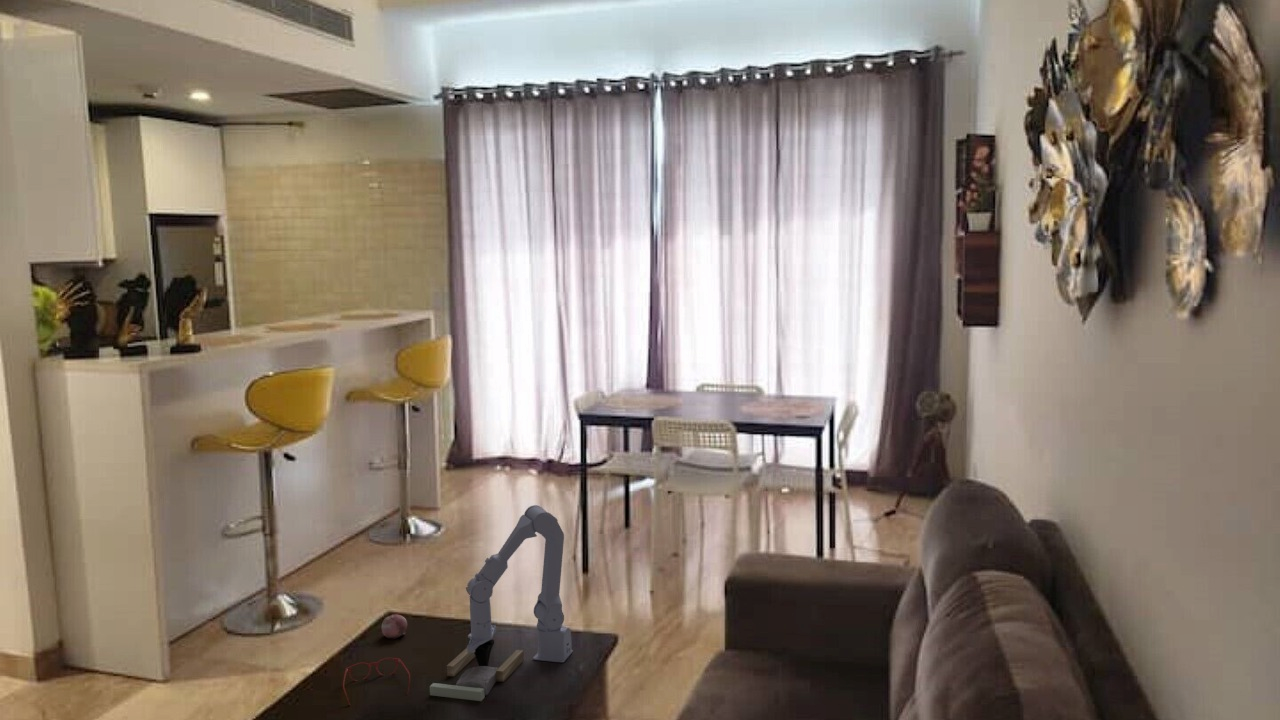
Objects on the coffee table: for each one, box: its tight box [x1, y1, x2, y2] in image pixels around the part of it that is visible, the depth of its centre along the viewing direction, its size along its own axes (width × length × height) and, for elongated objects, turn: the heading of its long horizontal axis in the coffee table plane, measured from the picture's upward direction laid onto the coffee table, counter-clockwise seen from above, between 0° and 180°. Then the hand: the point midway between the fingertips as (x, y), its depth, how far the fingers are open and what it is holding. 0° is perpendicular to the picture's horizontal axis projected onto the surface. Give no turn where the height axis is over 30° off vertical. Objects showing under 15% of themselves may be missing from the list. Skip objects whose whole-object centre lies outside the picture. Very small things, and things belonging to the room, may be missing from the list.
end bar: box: [429, 682, 486, 702], centre depth 246 cm, size 15×2×2 cm, turn 74°
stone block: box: [455, 665, 499, 696], centre depth 252 cm, size 12×5×10 cm
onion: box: [380, 614, 408, 641], centre depth 287 cm, size 8×8×7 cm
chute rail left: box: [446, 647, 476, 677], centre depth 265 cm, size 2×14×3 cm, turn 164°
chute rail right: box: [496, 649, 525, 683], centre depth 261 cm, size 2×14×3 cm, turn 164°
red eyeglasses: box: [342, 657, 411, 707], centre depth 253 cm, size 17×16×5 cm
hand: (483, 666), depth 261 cm, fingers closed
